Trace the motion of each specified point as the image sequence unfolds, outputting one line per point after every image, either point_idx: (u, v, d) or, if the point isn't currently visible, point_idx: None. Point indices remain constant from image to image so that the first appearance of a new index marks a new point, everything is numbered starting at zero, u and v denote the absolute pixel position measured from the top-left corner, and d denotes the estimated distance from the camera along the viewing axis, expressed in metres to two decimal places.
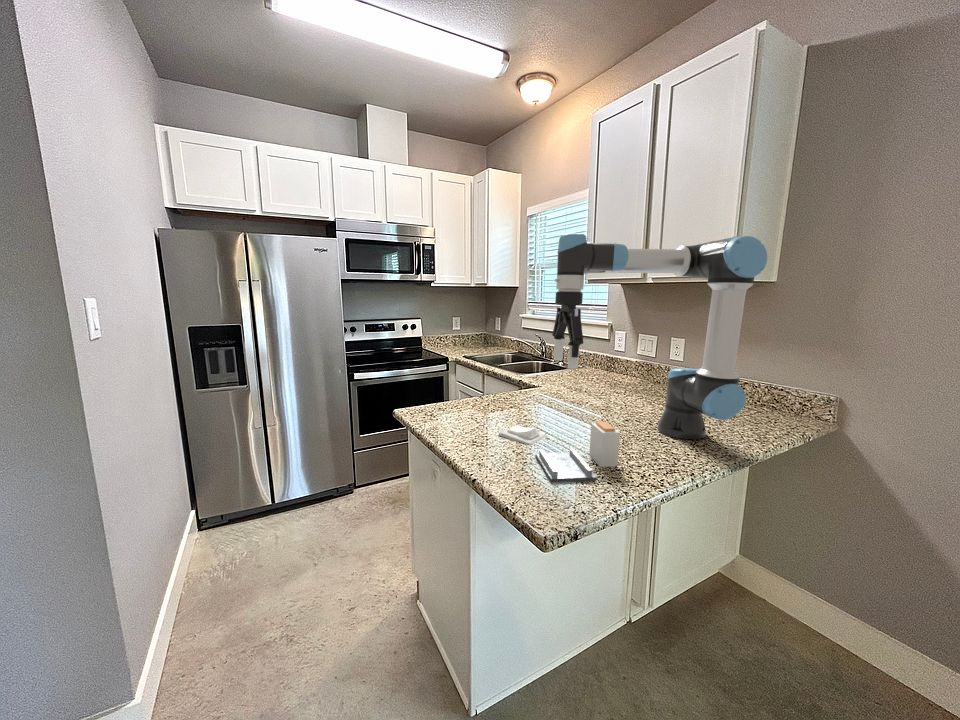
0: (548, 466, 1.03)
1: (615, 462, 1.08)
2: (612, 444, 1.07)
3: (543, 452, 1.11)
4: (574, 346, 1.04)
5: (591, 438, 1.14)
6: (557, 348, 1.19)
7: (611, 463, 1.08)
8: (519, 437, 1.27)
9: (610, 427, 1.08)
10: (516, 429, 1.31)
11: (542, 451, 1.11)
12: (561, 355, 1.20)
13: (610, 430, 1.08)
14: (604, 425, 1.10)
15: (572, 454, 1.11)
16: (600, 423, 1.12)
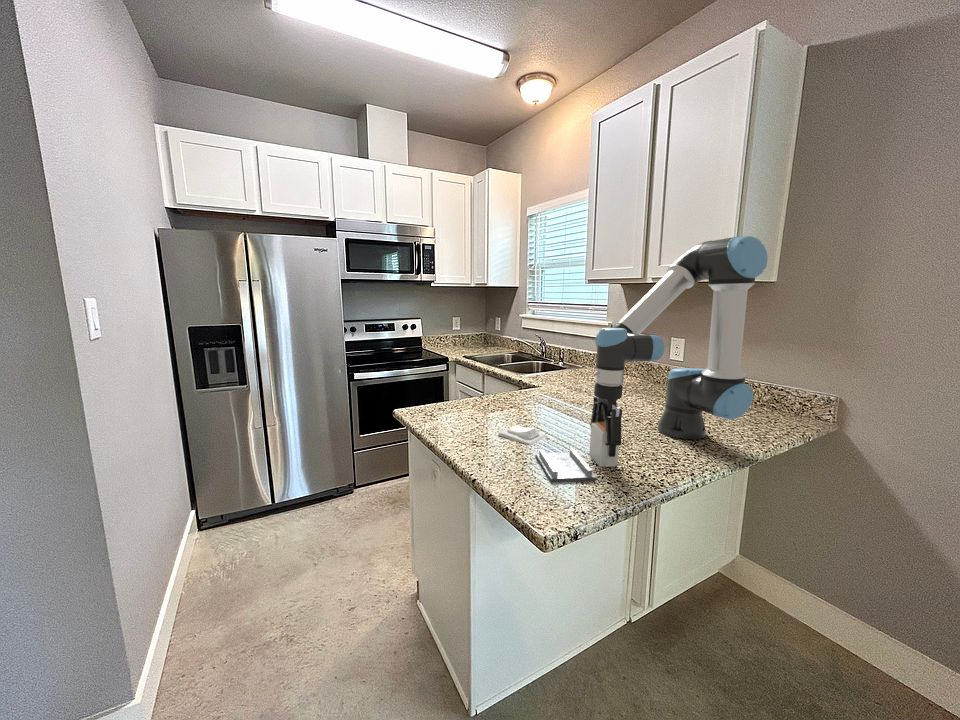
0: (548, 466, 1.03)
1: (615, 462, 1.08)
2: None
3: (543, 452, 1.11)
4: (611, 446, 1.05)
5: (591, 438, 1.14)
6: None
7: None
8: (519, 437, 1.27)
9: None
10: (516, 429, 1.31)
11: (542, 451, 1.11)
12: None
13: None
14: (604, 425, 1.10)
15: (572, 454, 1.11)
16: (600, 423, 1.12)
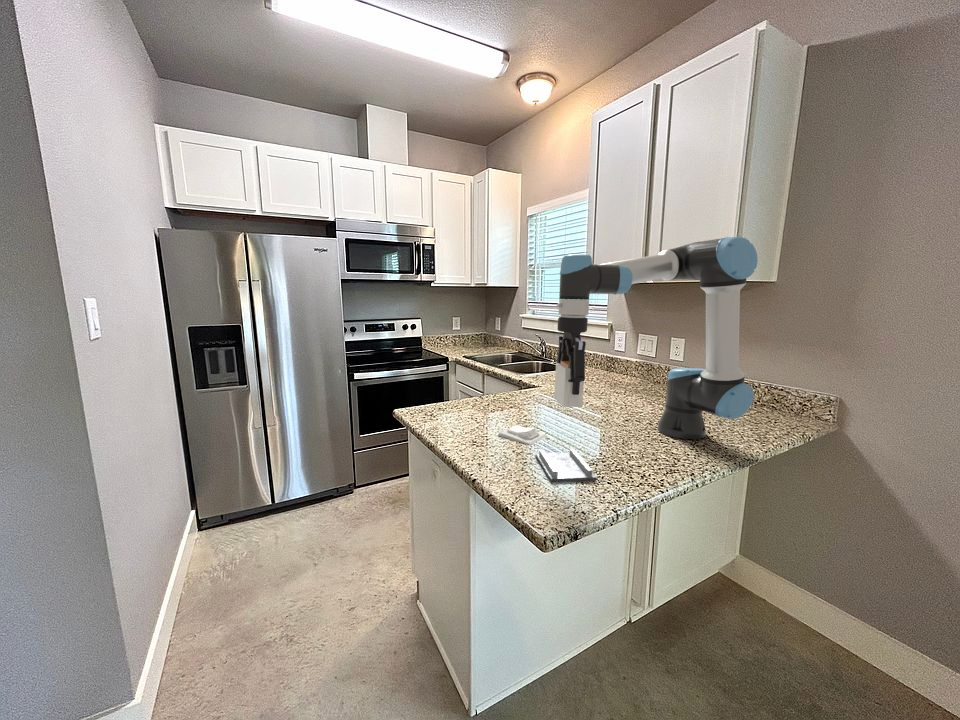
0: (548, 466, 1.03)
1: (579, 402, 1.00)
2: None
3: (543, 452, 1.11)
4: (575, 383, 0.97)
5: (556, 379, 1.06)
6: None
7: None
8: (519, 437, 1.27)
9: None
10: (516, 429, 1.31)
11: (542, 451, 1.11)
12: None
13: None
14: (568, 363, 1.02)
15: (572, 454, 1.11)
16: (564, 362, 1.03)
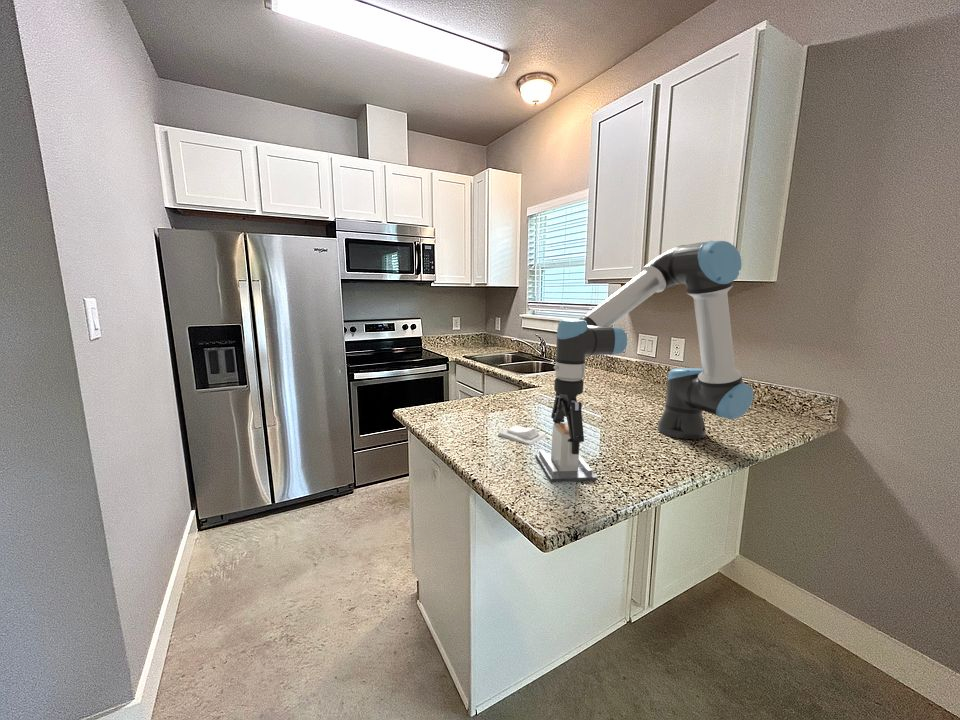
0: (548, 466, 1.03)
1: (575, 466, 1.03)
2: None
3: (543, 452, 1.11)
4: (574, 443, 0.97)
5: (552, 441, 1.09)
6: None
7: (572, 467, 1.03)
8: (519, 437, 1.27)
9: None
10: (516, 429, 1.31)
11: (542, 451, 1.11)
12: None
13: None
14: (565, 427, 1.05)
15: None
16: (561, 425, 1.06)
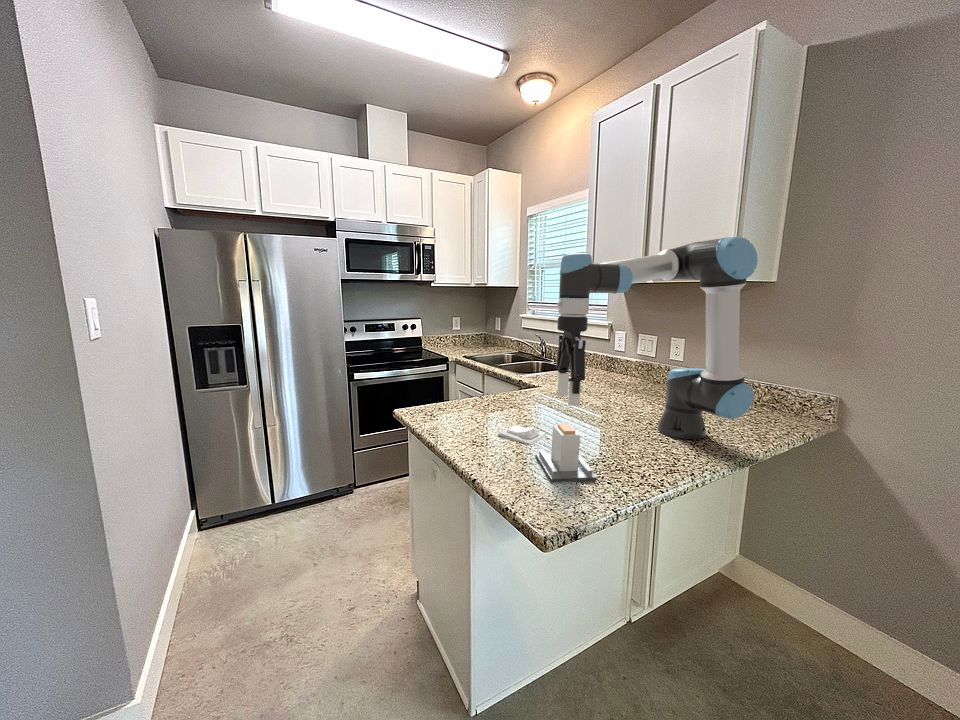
0: (548, 466, 1.03)
1: (575, 466, 1.03)
2: (572, 448, 1.02)
3: (543, 452, 1.11)
4: (575, 382, 0.97)
5: (552, 441, 1.09)
6: (561, 383, 1.07)
7: (572, 467, 1.03)
8: (519, 437, 1.27)
9: (570, 429, 1.03)
10: (515, 429, 1.31)
11: (542, 451, 1.11)
12: (565, 391, 1.07)
13: (570, 433, 1.02)
14: (565, 427, 1.05)
15: None
16: (561, 425, 1.06)
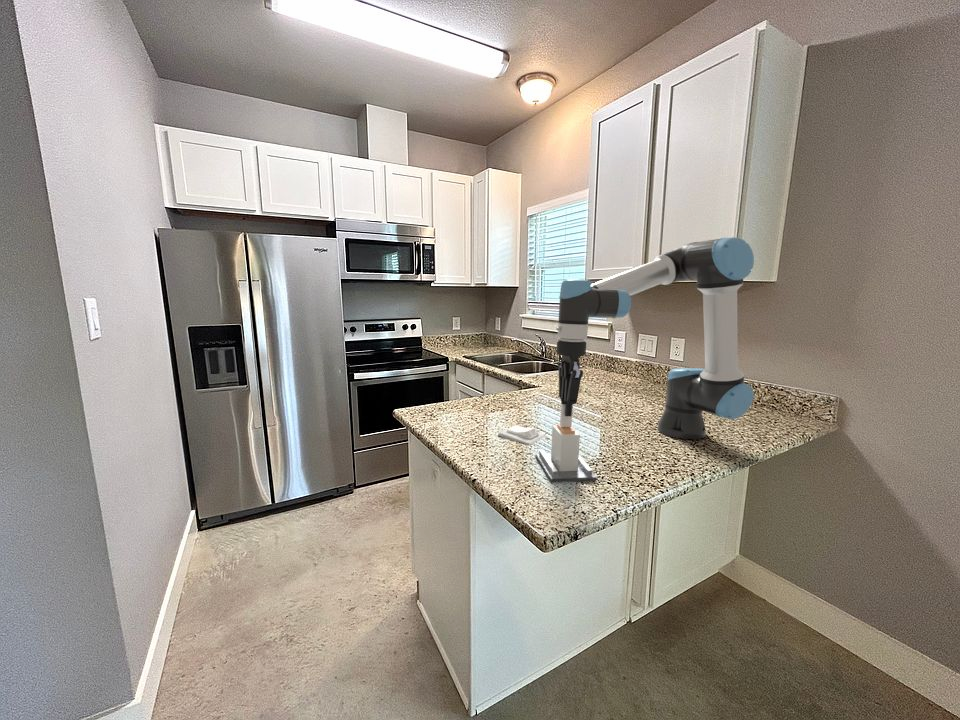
0: (548, 466, 1.03)
1: (575, 466, 1.03)
2: (572, 448, 1.02)
3: (543, 452, 1.11)
4: (567, 405, 1.02)
5: (552, 441, 1.09)
6: None
7: (572, 467, 1.03)
8: (519, 437, 1.27)
9: (570, 429, 1.03)
10: (515, 429, 1.31)
11: (542, 451, 1.11)
12: None
13: (570, 433, 1.02)
14: (564, 427, 1.05)
15: None
16: None
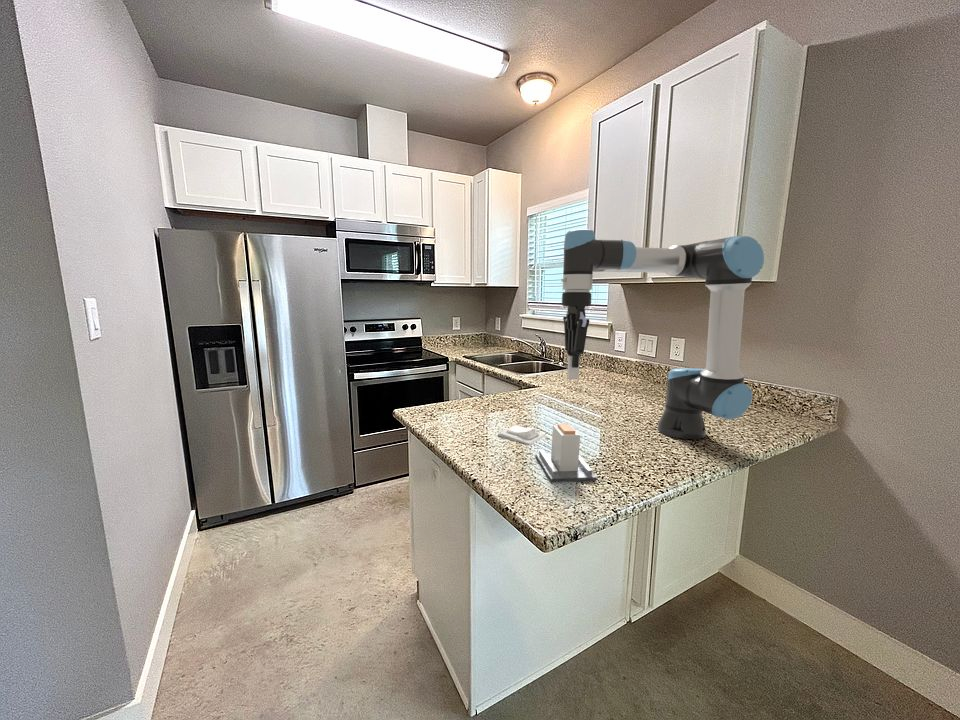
0: (548, 466, 1.03)
1: (575, 466, 1.03)
2: (572, 448, 1.02)
3: (543, 452, 1.11)
4: (574, 356, 1.03)
5: (552, 441, 1.09)
6: None
7: (572, 467, 1.03)
8: (519, 437, 1.27)
9: (570, 429, 1.03)
10: (515, 429, 1.31)
11: (542, 451, 1.11)
12: None
13: (570, 433, 1.02)
14: (565, 427, 1.05)
15: None
16: (561, 425, 1.06)
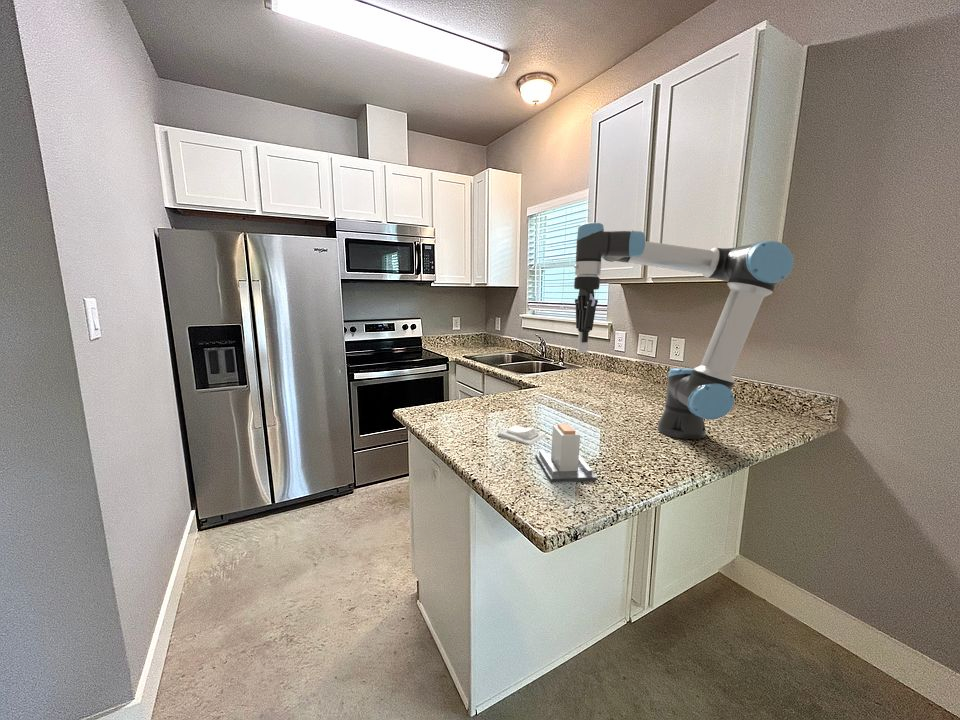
0: (548, 466, 1.03)
1: (575, 466, 1.03)
2: (572, 448, 1.02)
3: (543, 452, 1.11)
4: (584, 332, 1.20)
5: (552, 441, 1.09)
6: None
7: (572, 467, 1.03)
8: (518, 437, 1.27)
9: (570, 429, 1.03)
10: (515, 429, 1.31)
11: (542, 451, 1.11)
12: None
13: (570, 433, 1.02)
14: (565, 427, 1.05)
15: None
16: (561, 425, 1.06)
